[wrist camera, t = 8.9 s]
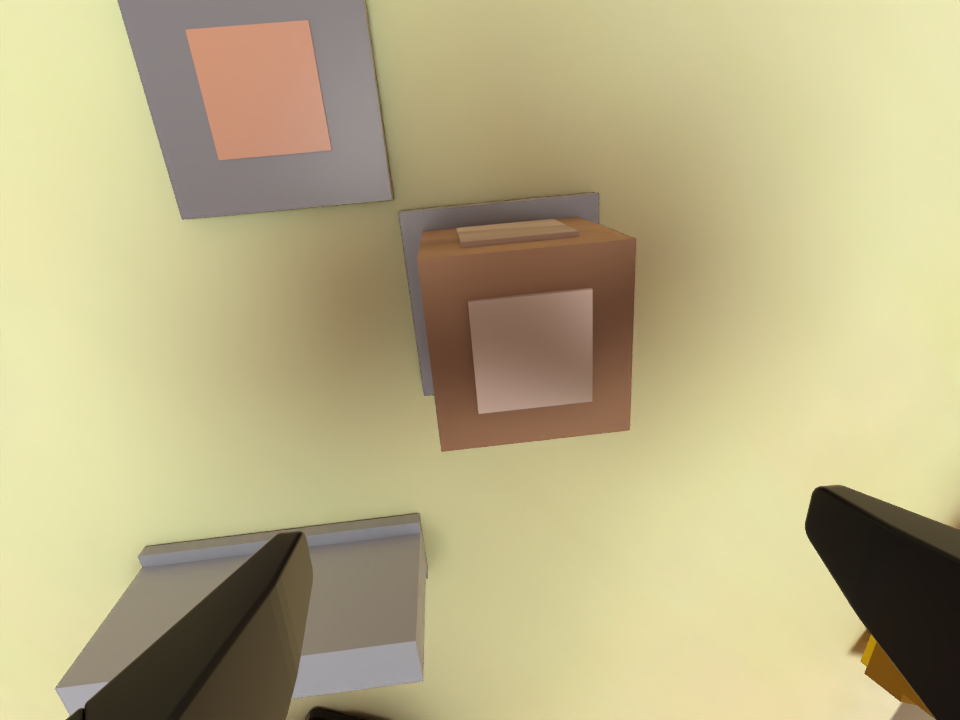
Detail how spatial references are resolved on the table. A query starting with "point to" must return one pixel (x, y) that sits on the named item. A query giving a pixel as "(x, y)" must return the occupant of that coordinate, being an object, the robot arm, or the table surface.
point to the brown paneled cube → (528, 330)
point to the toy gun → (888, 675)
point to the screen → (331, 615)
